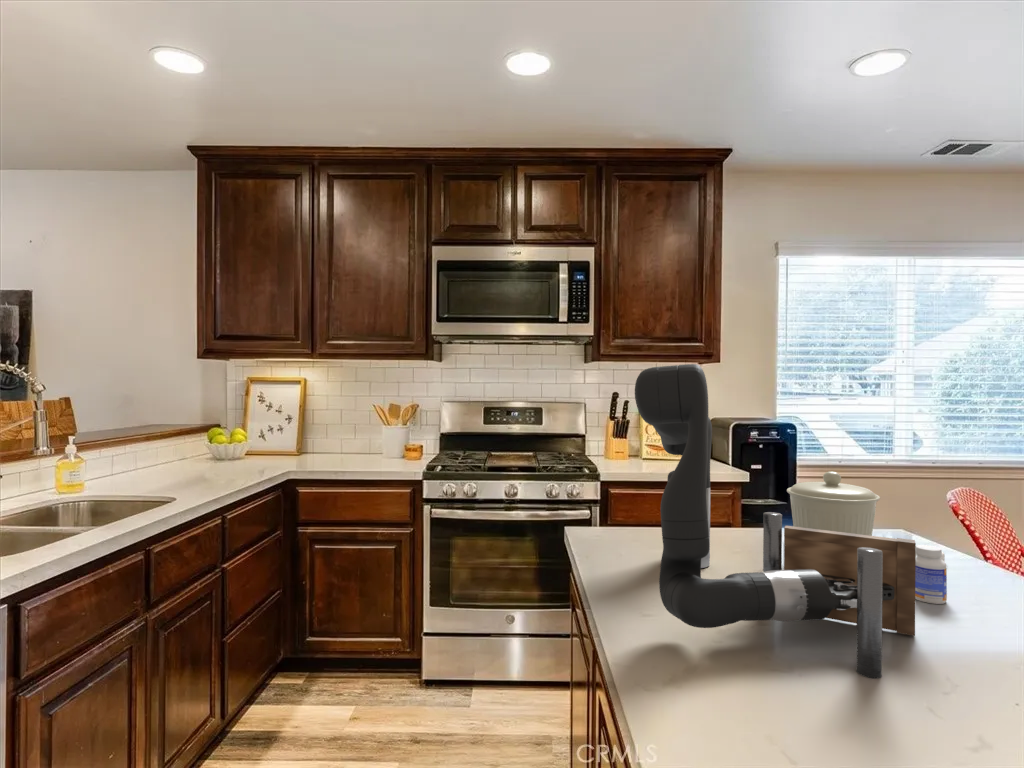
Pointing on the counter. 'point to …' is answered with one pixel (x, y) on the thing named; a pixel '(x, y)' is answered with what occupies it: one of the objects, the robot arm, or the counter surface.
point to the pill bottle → (930, 575)
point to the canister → (833, 506)
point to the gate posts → (866, 594)
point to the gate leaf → (840, 559)
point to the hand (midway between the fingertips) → (890, 591)
